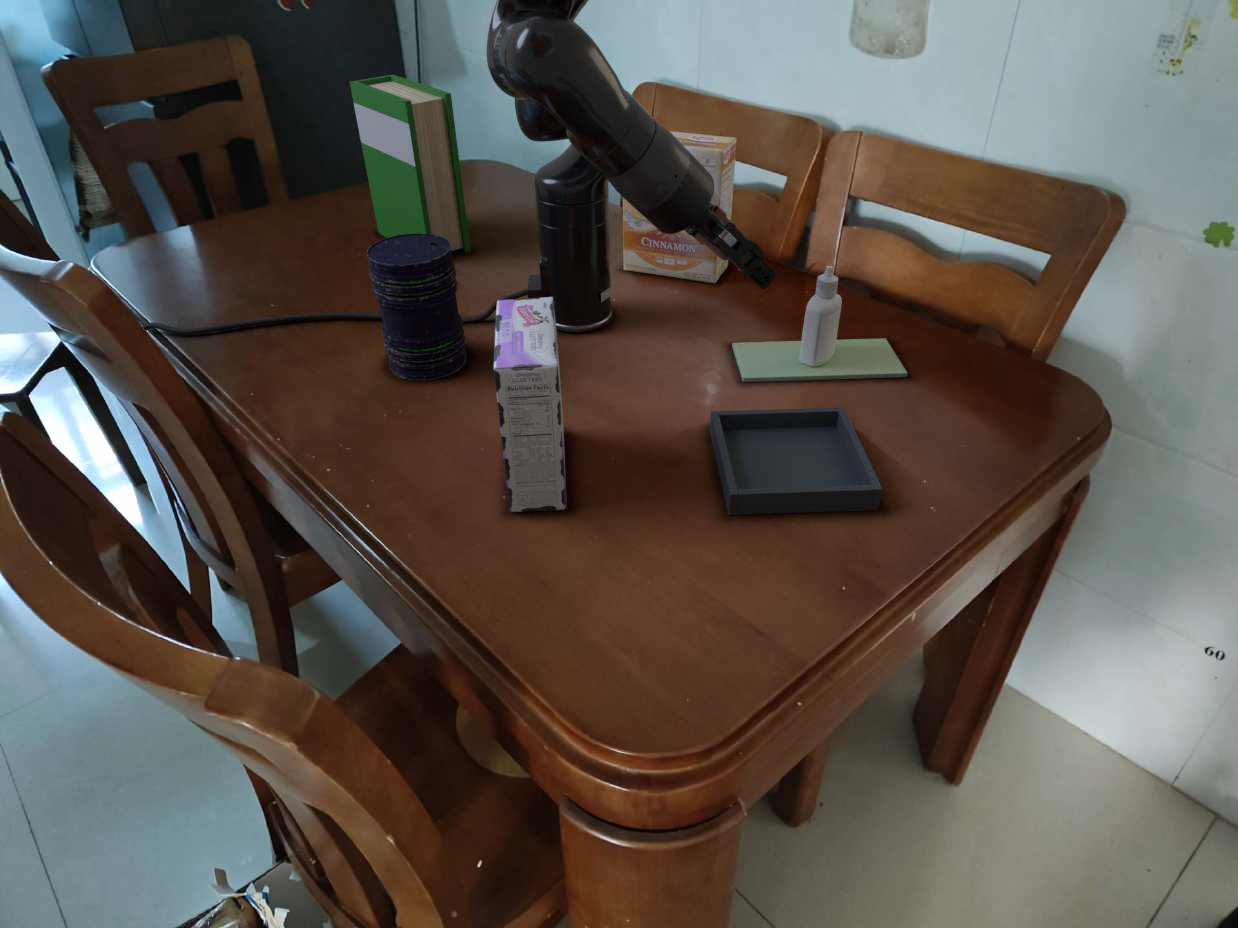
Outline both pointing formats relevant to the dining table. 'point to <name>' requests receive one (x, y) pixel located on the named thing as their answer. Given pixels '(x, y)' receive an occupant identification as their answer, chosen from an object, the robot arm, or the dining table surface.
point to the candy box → (530, 404)
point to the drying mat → (845, 364)
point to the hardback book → (411, 158)
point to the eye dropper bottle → (821, 321)
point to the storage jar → (418, 305)
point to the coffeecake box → (681, 250)
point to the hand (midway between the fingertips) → (749, 267)
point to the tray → (792, 462)
